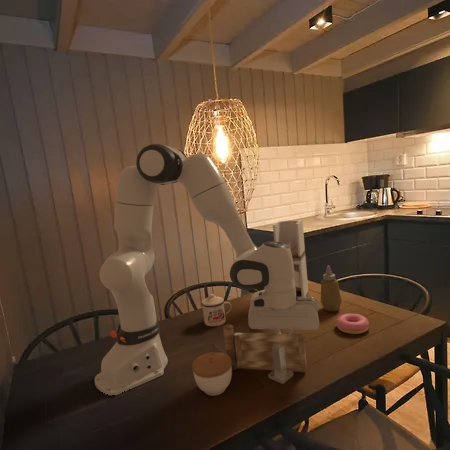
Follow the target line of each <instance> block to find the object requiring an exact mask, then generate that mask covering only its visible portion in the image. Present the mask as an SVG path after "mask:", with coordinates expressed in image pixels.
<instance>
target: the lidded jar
mask: <svg viewBox="0 0 450 450" xmlns="http://www.w3.org/2000/svg"><path fill="white" fill-rule="evenodd" d="M191 368H192V372H193V373H192V374H193V377H194V380H195V383H196V386H197V387H198V388H199V389H200V390H201V391H202V392H204V393H205V394H206V395H208V396H212V397H213V396H214V397H215V396H219V395H221V394H223V393H225V391H226V389H227V388H228V386H230V383H231V381H232V376H233V370H232V361H231V358H230V357H229V356H228V355H227V354H226V352H219V351H213V352H206V353H204V354H202V355H201V354H200V355H199V356H197V358H195V359H194V360H193V362H192V365H191Z"/></svg>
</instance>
